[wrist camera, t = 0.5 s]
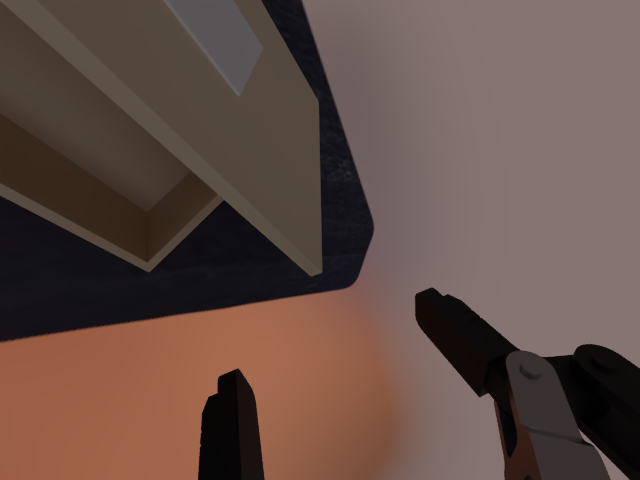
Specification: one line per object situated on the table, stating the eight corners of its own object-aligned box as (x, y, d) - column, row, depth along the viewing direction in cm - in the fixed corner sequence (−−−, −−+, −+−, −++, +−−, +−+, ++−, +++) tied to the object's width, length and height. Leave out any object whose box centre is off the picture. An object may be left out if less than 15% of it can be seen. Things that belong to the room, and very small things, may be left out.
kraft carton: (148, 217, 29) (149, 272, 20) (-160, 13, 16) (-565, -97, 7) (264, 106, 30) (315, 110, 21) (66, -166, 17) (-22, -458, 8)
